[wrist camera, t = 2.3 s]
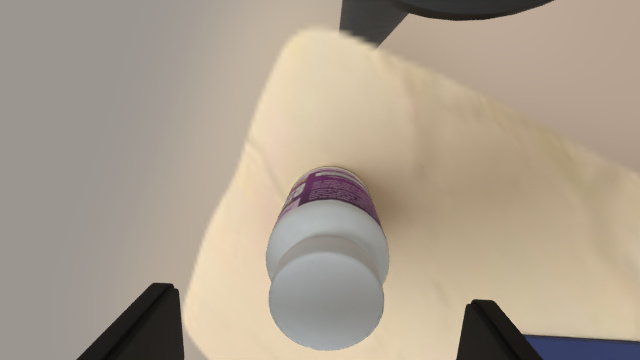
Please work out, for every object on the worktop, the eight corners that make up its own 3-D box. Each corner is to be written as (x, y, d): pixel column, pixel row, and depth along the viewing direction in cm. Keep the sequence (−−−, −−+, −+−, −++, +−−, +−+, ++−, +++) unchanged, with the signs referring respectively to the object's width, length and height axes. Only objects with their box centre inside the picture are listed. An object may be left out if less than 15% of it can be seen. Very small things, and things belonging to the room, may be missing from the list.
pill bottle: (290, 160, 19) (249, 222, 10) (375, 169, 19) (418, 239, 9) (284, 239, 20) (245, 360, 11) (364, 247, 20) (392, 375, 11)
